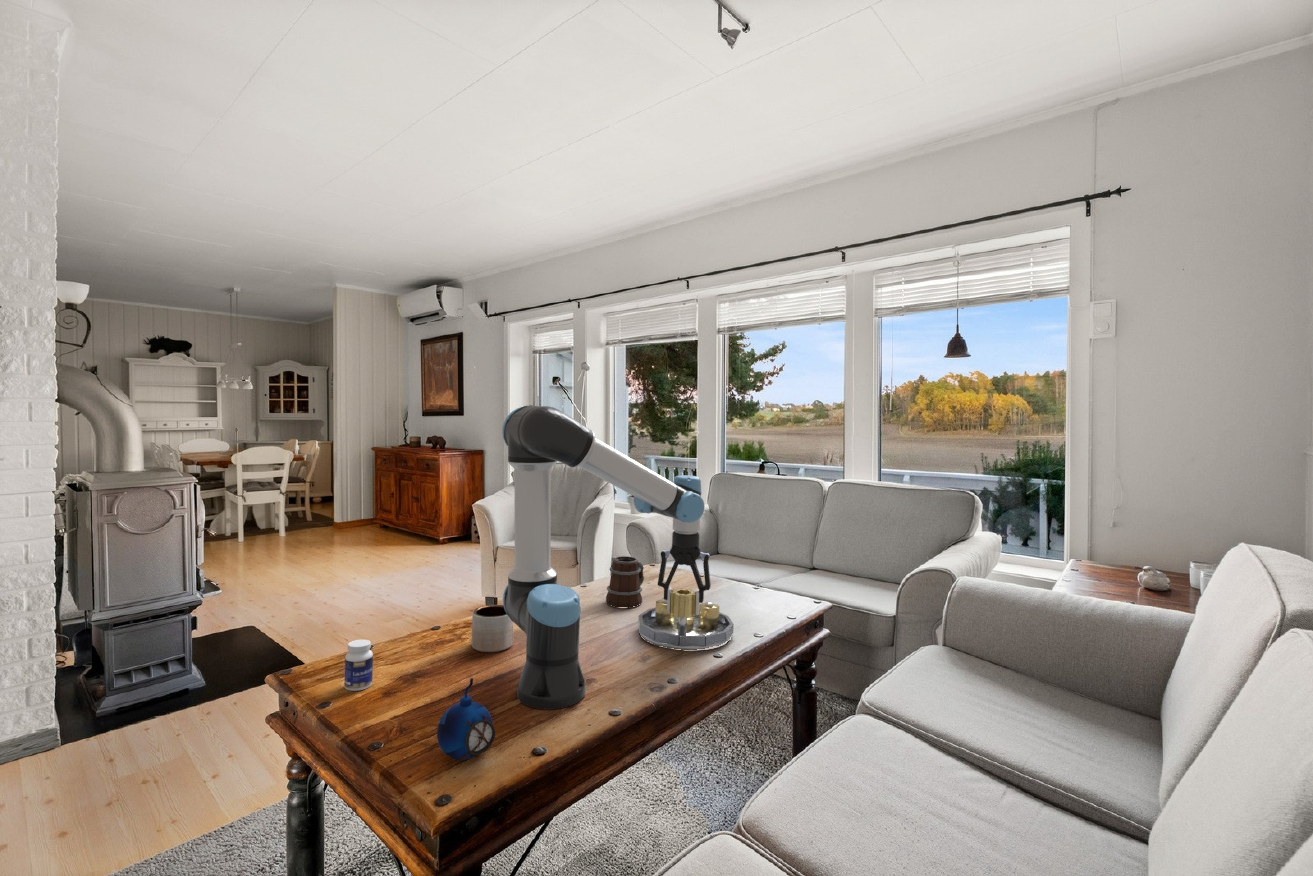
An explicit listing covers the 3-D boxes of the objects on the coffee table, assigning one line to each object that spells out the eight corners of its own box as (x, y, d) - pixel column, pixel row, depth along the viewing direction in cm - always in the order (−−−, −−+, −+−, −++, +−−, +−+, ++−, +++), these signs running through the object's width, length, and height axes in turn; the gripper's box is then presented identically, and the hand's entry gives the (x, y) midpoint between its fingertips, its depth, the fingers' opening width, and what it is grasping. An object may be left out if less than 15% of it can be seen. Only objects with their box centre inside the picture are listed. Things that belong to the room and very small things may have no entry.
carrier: (676, 658, 162) (677, 623, 161) (621, 627, 184) (622, 595, 183) (751, 639, 177) (752, 607, 177) (692, 612, 199) (693, 583, 199)
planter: (521, 646, 166) (522, 611, 166) (485, 657, 158) (486, 620, 158) (498, 635, 174) (499, 601, 173) (463, 645, 166) (464, 610, 165)
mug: (627, 611, 199) (629, 565, 198) (598, 603, 206) (600, 558, 205) (655, 600, 212) (657, 556, 211) (628, 593, 219) (629, 551, 218)
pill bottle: (353, 694, 136) (354, 649, 135) (339, 687, 139) (339, 643, 138) (377, 685, 141) (378, 642, 140) (362, 678, 144) (363, 636, 143)
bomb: (457, 781, 106) (459, 695, 105) (426, 755, 113) (428, 675, 113) (506, 758, 113) (508, 678, 113) (473, 736, 121) (475, 660, 120)
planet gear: (680, 619, 168) (681, 597, 168) (665, 611, 174) (665, 590, 173) (701, 614, 172) (702, 593, 172) (685, 607, 178) (686, 587, 178)
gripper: (723, 531, 174) (720, 611, 175) (652, 526, 177) (650, 605, 178) (721, 536, 166) (718, 620, 167) (647, 531, 170) (645, 613, 171)
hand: (683, 612), depth 173 cm, fingers closed on planet gear, 7 cm apart
